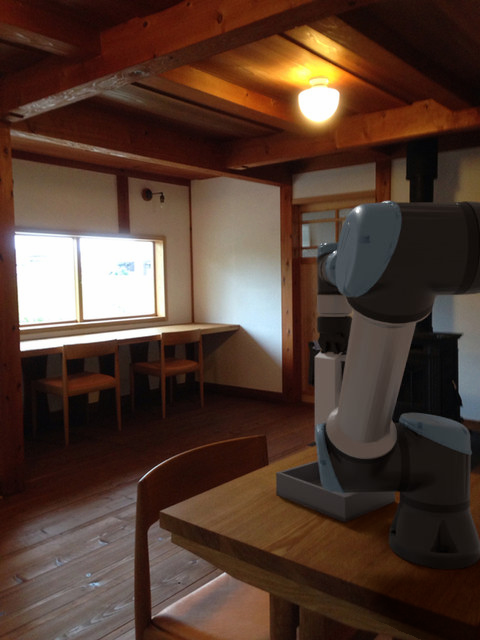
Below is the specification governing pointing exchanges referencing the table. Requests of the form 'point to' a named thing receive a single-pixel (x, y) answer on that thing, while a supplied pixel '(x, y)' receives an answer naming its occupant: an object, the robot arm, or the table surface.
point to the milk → (327, 384)
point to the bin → (326, 494)
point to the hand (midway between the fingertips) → (334, 420)
